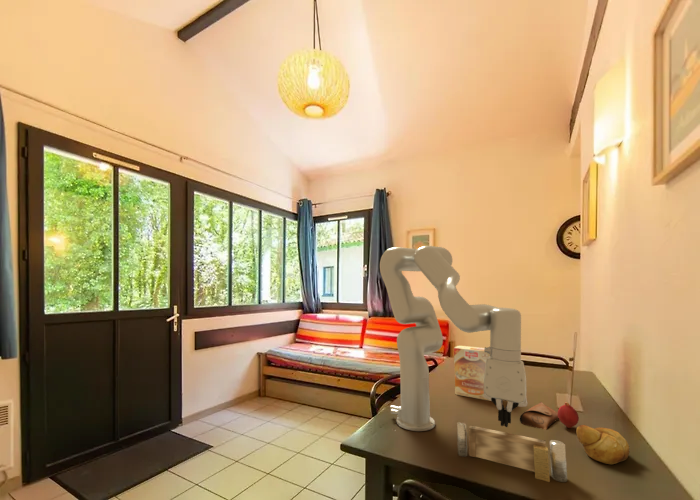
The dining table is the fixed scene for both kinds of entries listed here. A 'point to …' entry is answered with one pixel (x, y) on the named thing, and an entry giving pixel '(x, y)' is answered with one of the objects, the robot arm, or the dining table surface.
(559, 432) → the dining table surface
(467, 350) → the coffeecake box
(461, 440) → the hinge post
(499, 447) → the strip
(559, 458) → the slab and cylinder
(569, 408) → the red round fruit
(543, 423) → the sunglasses case
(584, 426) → the bread roll
